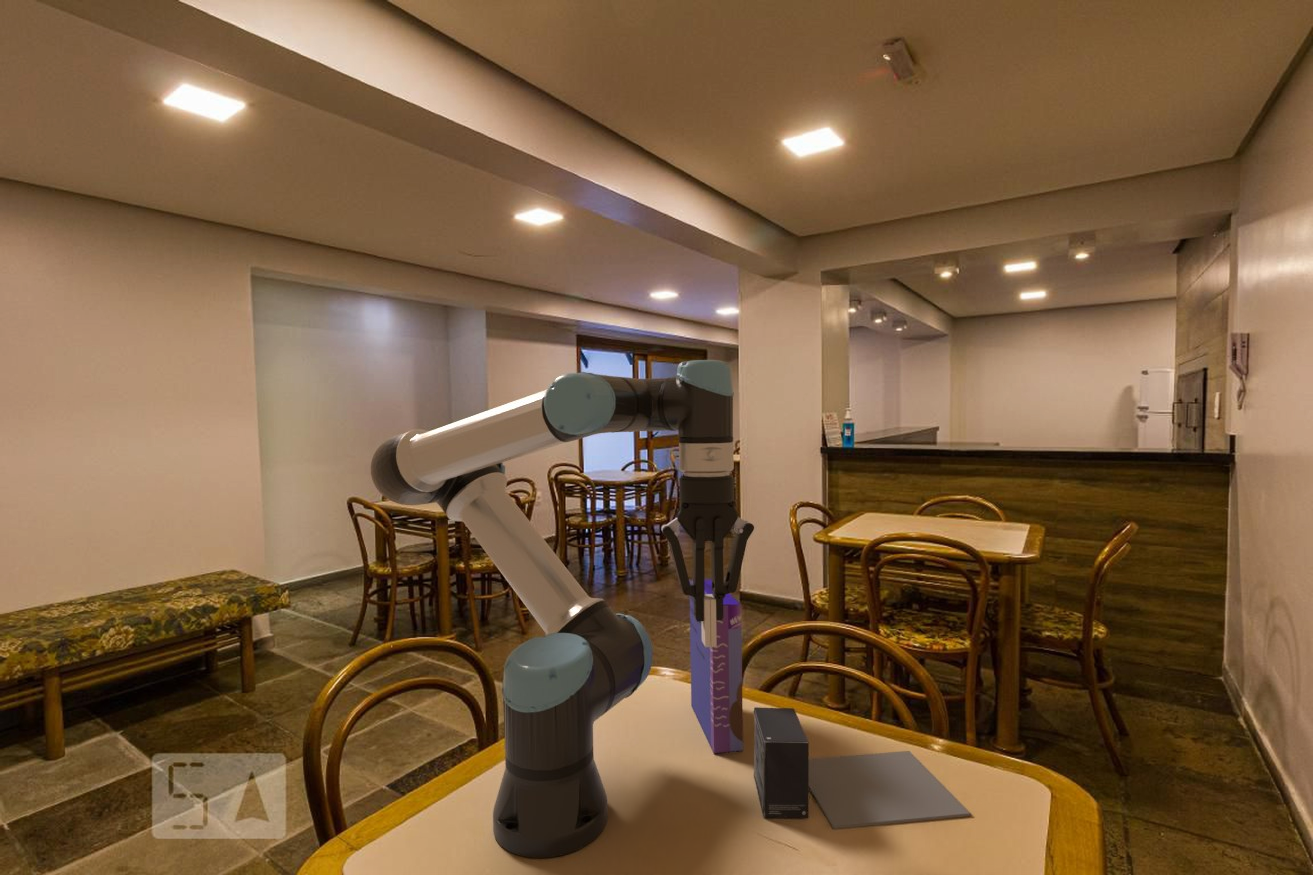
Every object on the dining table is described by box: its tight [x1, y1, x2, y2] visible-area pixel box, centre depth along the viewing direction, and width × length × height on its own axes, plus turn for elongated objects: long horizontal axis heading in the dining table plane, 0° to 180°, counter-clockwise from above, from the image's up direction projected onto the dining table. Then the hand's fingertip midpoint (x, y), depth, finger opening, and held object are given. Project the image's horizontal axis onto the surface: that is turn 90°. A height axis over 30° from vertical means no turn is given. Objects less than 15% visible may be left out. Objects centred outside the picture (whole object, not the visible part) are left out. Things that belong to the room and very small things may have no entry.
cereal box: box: [689, 577, 744, 755], centre depth 109 cm, size 17×5×24 cm, turn 9°
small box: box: [753, 706, 810, 819], centre depth 89 cm, size 11×6×10 cm, turn 179°
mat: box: [809, 750, 972, 830], centre depth 91 cm, size 19×16×1 cm
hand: (709, 643), depth 88 cm, fingers closed
